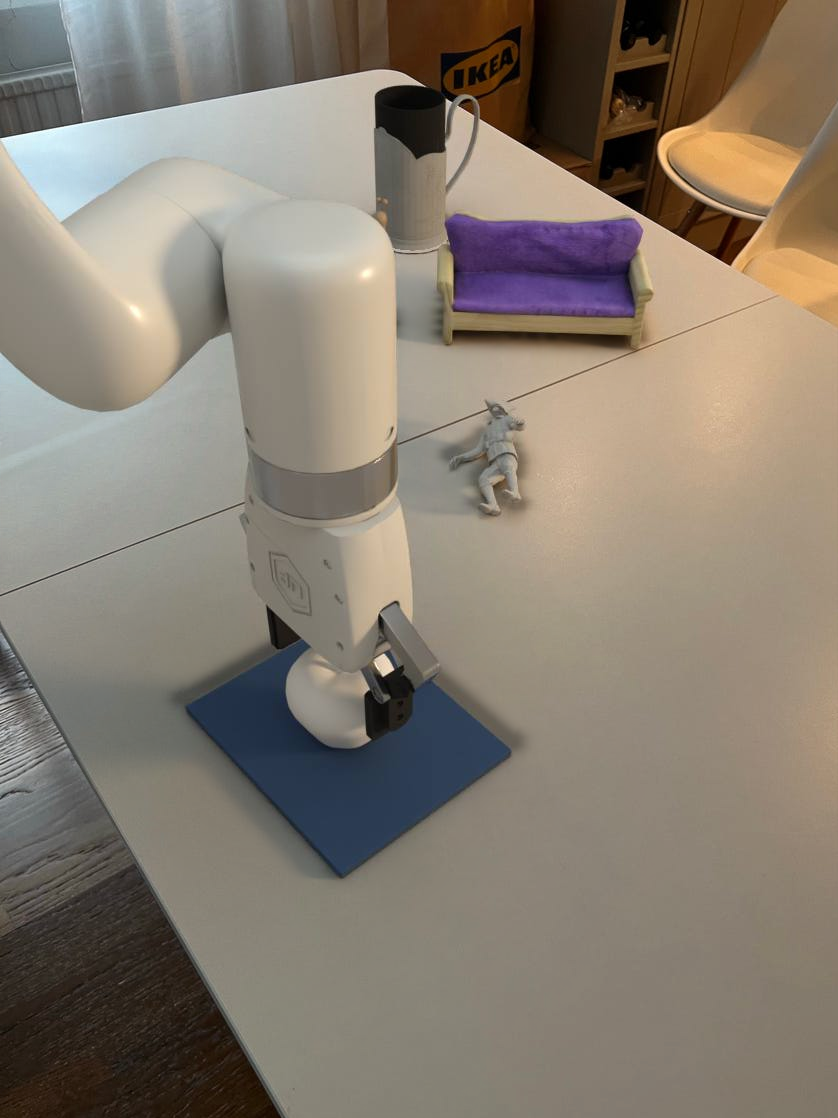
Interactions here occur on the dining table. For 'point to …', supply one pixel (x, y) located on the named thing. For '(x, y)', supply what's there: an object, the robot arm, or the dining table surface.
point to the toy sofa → (543, 276)
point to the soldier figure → (497, 454)
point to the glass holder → (415, 162)
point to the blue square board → (346, 761)
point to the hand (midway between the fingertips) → (340, 680)
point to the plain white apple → (330, 699)
